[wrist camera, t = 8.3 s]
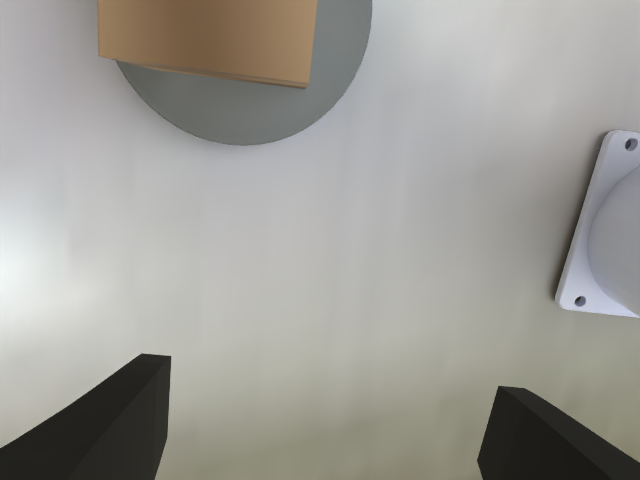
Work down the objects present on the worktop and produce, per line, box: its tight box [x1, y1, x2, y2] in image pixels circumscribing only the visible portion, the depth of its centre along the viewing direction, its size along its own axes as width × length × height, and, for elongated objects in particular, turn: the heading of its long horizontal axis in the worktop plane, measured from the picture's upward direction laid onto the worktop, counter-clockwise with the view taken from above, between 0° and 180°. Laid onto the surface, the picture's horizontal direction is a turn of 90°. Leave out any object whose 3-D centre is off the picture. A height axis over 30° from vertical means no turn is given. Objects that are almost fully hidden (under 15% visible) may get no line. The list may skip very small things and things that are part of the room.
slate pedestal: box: [116, 0, 372, 145], centre depth 16 cm, size 9×9×2 cm
